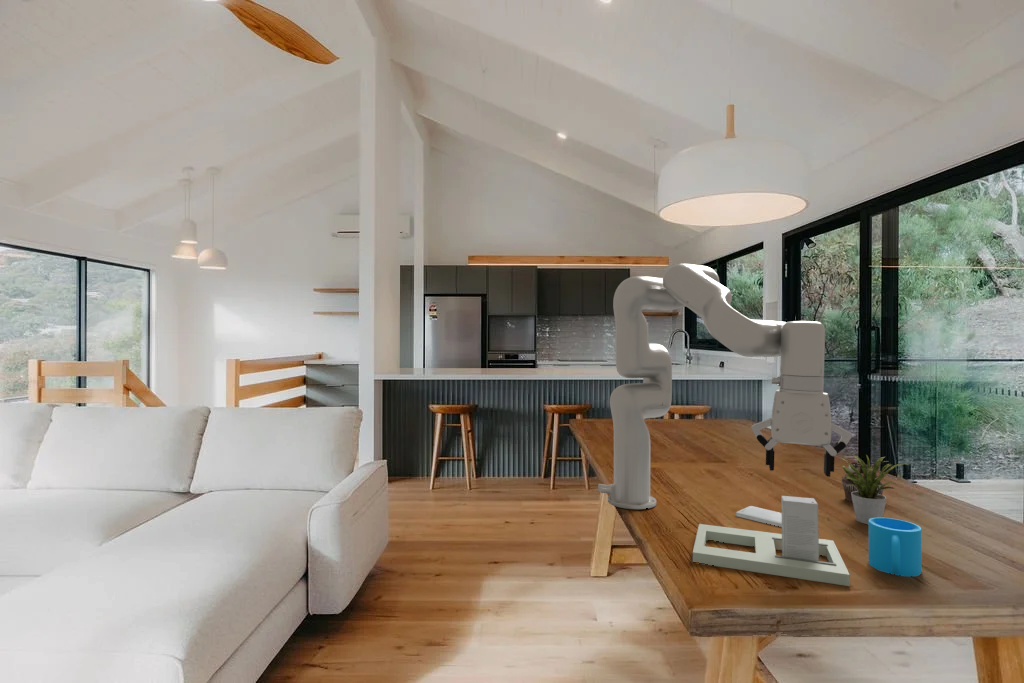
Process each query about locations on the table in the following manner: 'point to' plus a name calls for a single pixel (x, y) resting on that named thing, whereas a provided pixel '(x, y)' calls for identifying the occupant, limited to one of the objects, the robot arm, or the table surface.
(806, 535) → the skincare box
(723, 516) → the table surface
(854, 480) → the house plant
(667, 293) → the robot arm
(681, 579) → the table surface
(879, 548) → the mug
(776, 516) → the hard drive
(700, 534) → the socket board
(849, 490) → the cupcake
